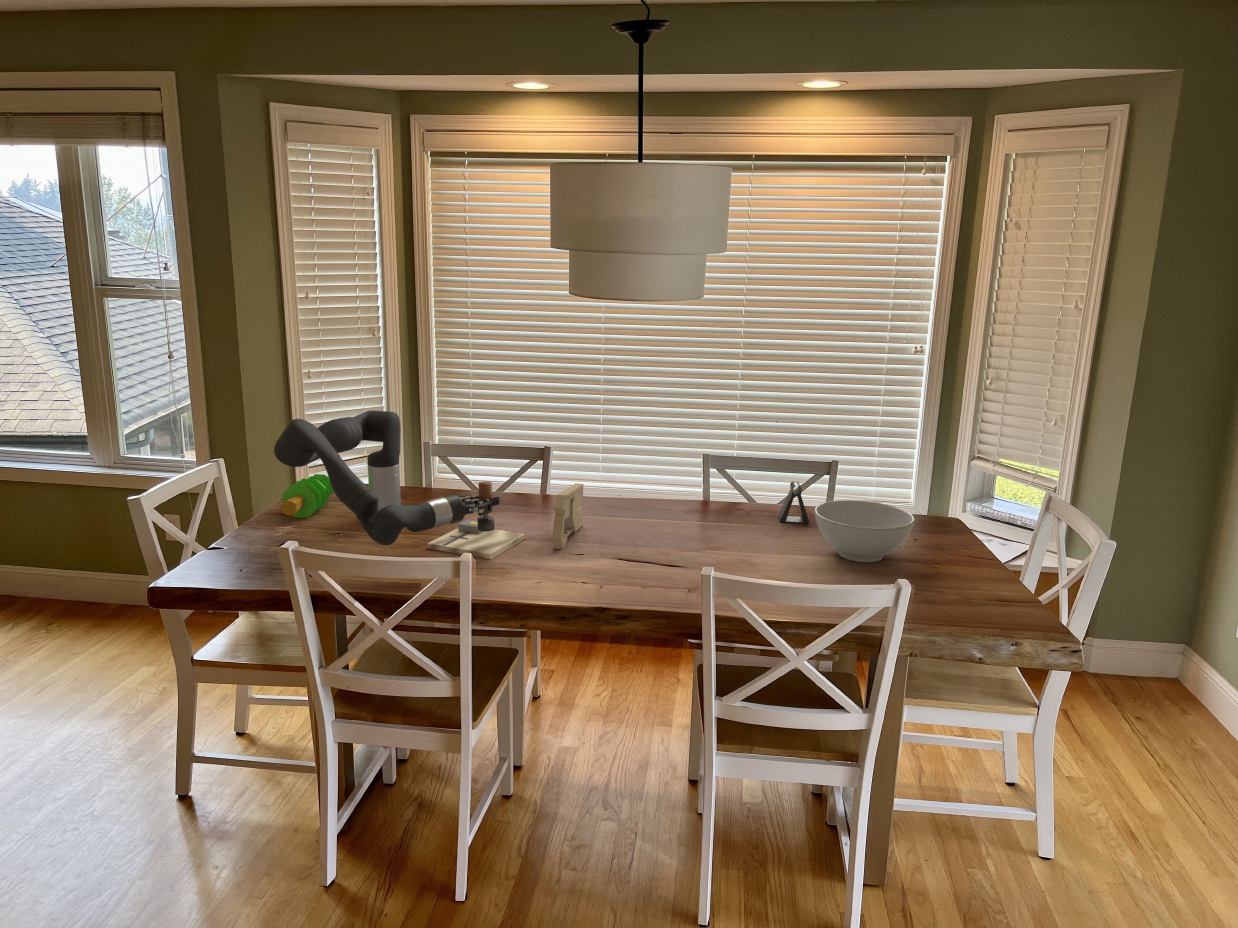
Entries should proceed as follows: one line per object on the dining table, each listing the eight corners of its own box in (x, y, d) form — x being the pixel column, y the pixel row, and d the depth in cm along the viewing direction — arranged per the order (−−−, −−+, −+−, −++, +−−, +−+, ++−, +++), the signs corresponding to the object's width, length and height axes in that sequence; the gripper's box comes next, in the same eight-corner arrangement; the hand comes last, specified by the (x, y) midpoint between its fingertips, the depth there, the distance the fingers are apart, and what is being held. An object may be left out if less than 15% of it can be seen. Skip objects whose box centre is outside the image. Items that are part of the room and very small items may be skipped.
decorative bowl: (825, 534, 268) (828, 495, 266) (918, 549, 257) (922, 508, 254) (799, 560, 245) (802, 518, 242) (900, 578, 233) (904, 534, 231)
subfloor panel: (427, 548, 248) (427, 542, 248) (465, 529, 265) (465, 524, 265) (490, 559, 241) (490, 553, 240) (524, 539, 258) (524, 533, 257)
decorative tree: (277, 484, 264) (320, 456, 292) (266, 517, 267) (310, 487, 296) (313, 499, 264) (352, 471, 292) (302, 532, 267) (342, 501, 296)
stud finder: (458, 530, 259) (458, 523, 258) (467, 525, 263) (467, 518, 263) (479, 533, 256) (479, 526, 256) (488, 529, 261) (488, 522, 260)
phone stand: (807, 518, 284) (809, 481, 281) (809, 523, 278) (811, 486, 275) (778, 516, 285) (780, 480, 282) (779, 522, 279) (782, 485, 276)
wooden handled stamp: (474, 530, 245) (473, 484, 242) (483, 525, 249) (482, 480, 246) (489, 532, 243) (488, 486, 240) (497, 527, 247) (496, 482, 244)
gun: (562, 550, 248) (563, 497, 246) (550, 549, 249) (552, 496, 247) (583, 531, 272) (584, 483, 270) (572, 531, 273) (574, 482, 270)
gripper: (426, 519, 240) (478, 506, 252) (459, 531, 230) (510, 517, 243) (425, 492, 238) (477, 480, 250) (458, 503, 229) (510, 490, 241)
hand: (493, 498), depth 246 cm, fingers closed on wooden handled stamp, 3 cm apart
